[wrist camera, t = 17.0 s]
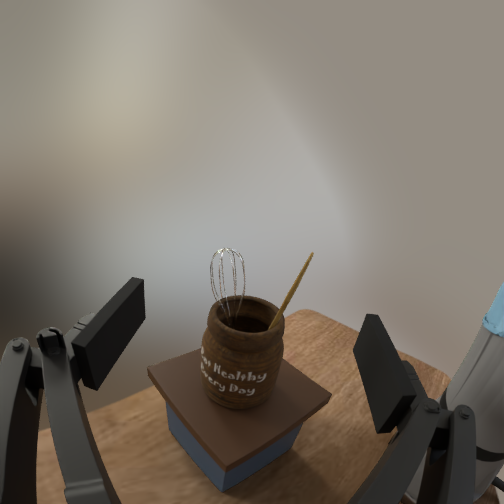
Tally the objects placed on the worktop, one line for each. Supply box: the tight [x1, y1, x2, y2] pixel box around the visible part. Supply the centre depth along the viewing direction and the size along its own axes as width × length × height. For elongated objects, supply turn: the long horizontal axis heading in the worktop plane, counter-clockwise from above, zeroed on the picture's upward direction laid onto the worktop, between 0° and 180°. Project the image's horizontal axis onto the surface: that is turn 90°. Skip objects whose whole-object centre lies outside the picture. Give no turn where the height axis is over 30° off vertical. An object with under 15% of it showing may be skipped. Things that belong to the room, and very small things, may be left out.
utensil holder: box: [200, 248, 314, 409], centre depth 19 cm, size 6×6×12 cm
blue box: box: [147, 348, 332, 492], centre depth 23 cm, size 11×11×9 cm
